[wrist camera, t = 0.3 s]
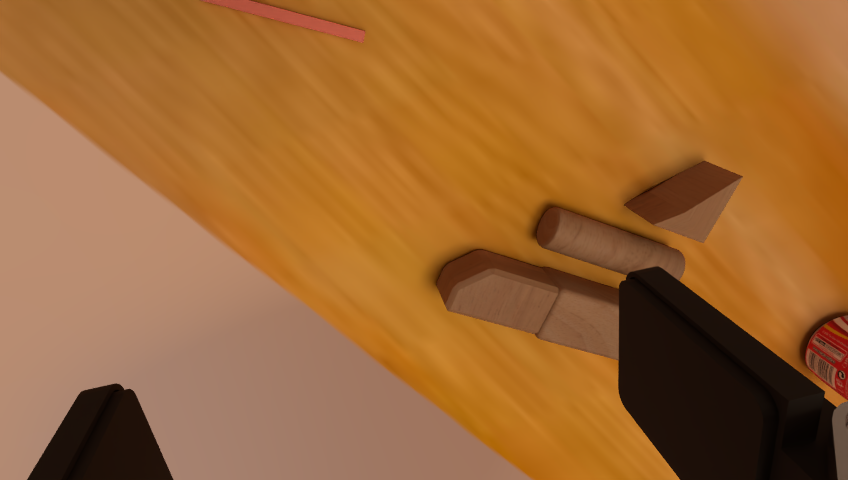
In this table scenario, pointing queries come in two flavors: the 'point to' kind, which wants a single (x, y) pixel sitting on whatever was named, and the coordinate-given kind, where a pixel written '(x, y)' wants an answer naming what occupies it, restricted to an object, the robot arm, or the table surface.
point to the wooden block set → (594, 243)
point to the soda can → (830, 354)
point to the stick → (292, 18)
